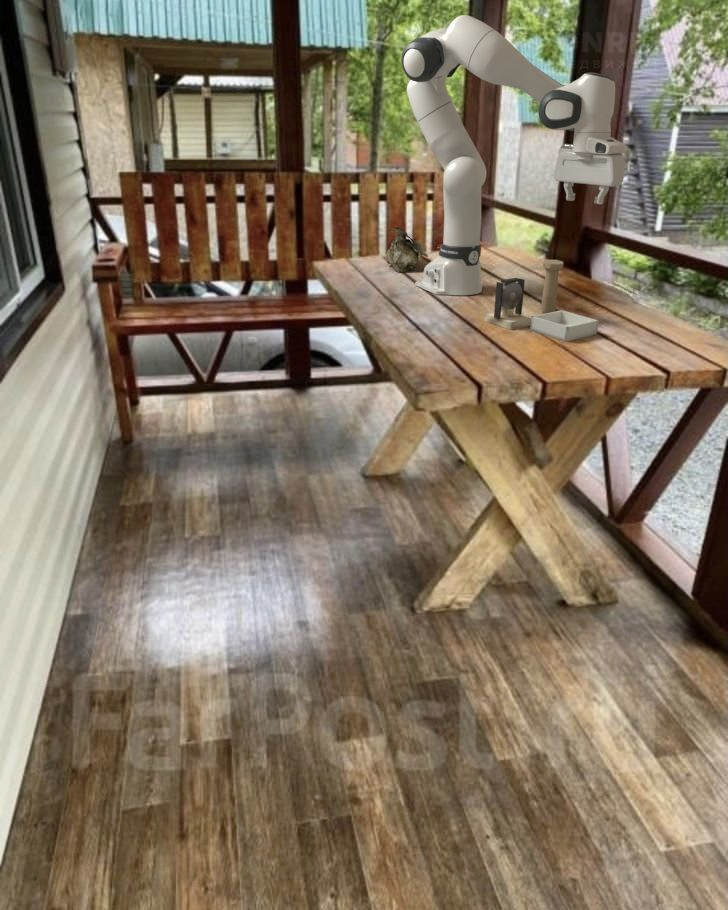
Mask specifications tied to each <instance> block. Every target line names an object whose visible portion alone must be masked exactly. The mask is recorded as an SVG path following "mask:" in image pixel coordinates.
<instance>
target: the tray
mask: <svg viewBox="0 0 728 910" xmlns="http://www.w3.org/2000/svg"><path fill="white" fill-rule="evenodd" d="M530 318H531V324H530V326H529V331H531V332H535V333H537V334H540V335H544V336H547V337H550V338H553V339H556V340H560V341H562V342H570V341H571V342H572V341H574V340H579V339H583V338H587V337H591V336H596V335H598V329H599V320H598V319H594V318H591V317H588V316H584V315H580V314H576V313H574V312H569V311H566V310H562V309H561V310H557V311H556V310H555V312H550V313H546V314H536V315H533V316H531V317H530Z"/></svg>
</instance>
